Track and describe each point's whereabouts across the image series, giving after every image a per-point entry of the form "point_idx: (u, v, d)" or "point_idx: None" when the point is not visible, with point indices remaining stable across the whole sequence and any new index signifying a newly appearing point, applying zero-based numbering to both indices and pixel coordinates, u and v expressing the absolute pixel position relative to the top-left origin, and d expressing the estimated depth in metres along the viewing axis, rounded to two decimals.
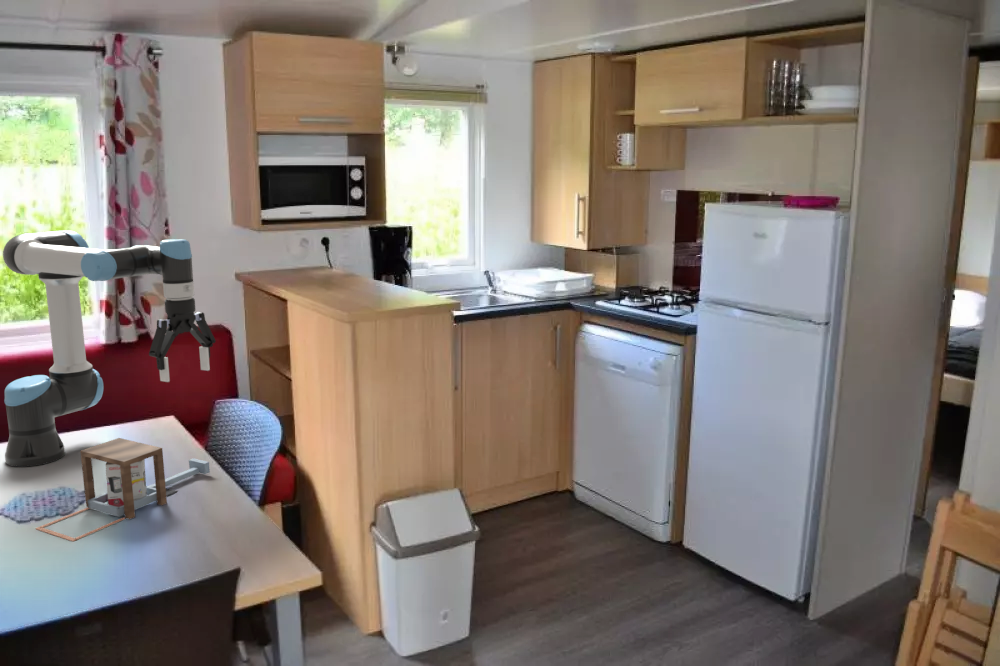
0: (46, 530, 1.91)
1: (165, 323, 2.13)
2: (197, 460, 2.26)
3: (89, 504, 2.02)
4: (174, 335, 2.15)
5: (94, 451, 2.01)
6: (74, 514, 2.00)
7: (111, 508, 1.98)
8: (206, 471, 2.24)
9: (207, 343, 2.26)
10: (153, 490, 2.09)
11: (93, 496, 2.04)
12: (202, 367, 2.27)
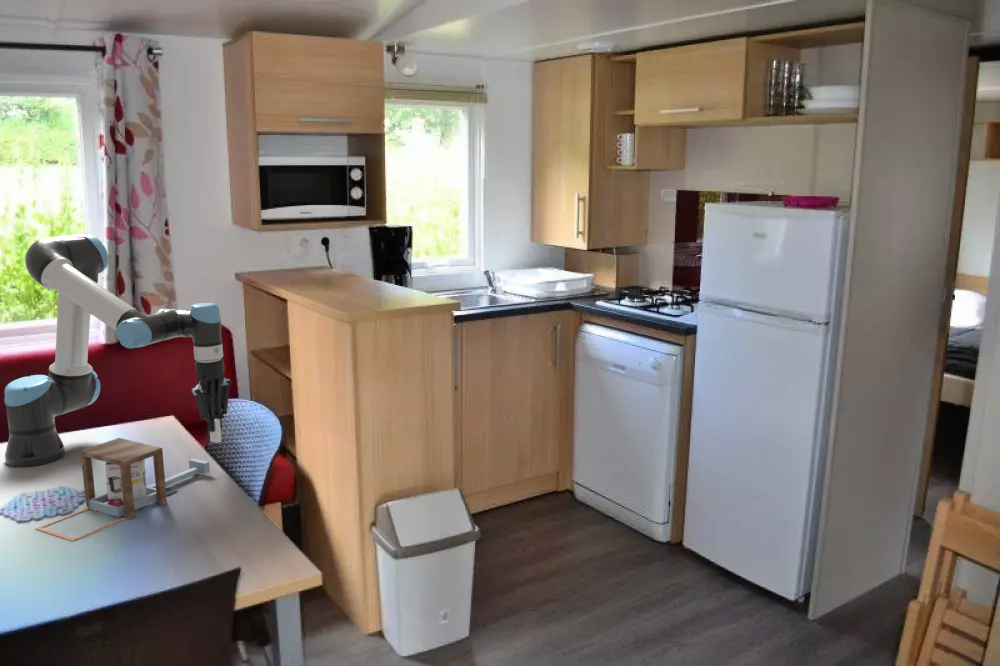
0: (46, 530, 1.91)
1: (199, 392, 2.21)
2: (197, 460, 2.26)
3: (89, 504, 2.02)
4: (212, 397, 2.25)
5: (94, 451, 2.01)
6: (74, 514, 2.00)
7: (111, 508, 1.98)
8: (206, 471, 2.24)
9: (220, 413, 2.28)
10: (153, 490, 2.09)
11: (93, 496, 2.04)
12: None
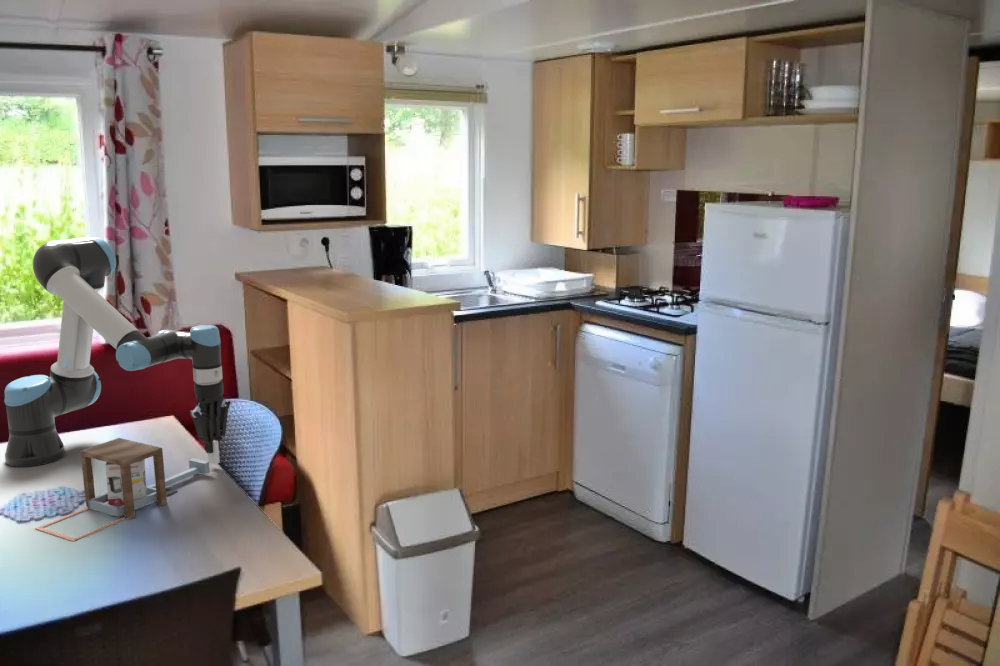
0: (46, 530, 1.91)
1: (198, 414, 2.22)
2: (197, 460, 2.26)
3: (89, 504, 2.02)
4: (210, 419, 2.26)
5: (94, 451, 2.01)
6: (74, 514, 2.00)
7: (111, 508, 1.98)
8: (206, 471, 2.24)
9: (218, 435, 2.29)
10: (153, 490, 2.09)
11: (93, 496, 2.04)
12: None
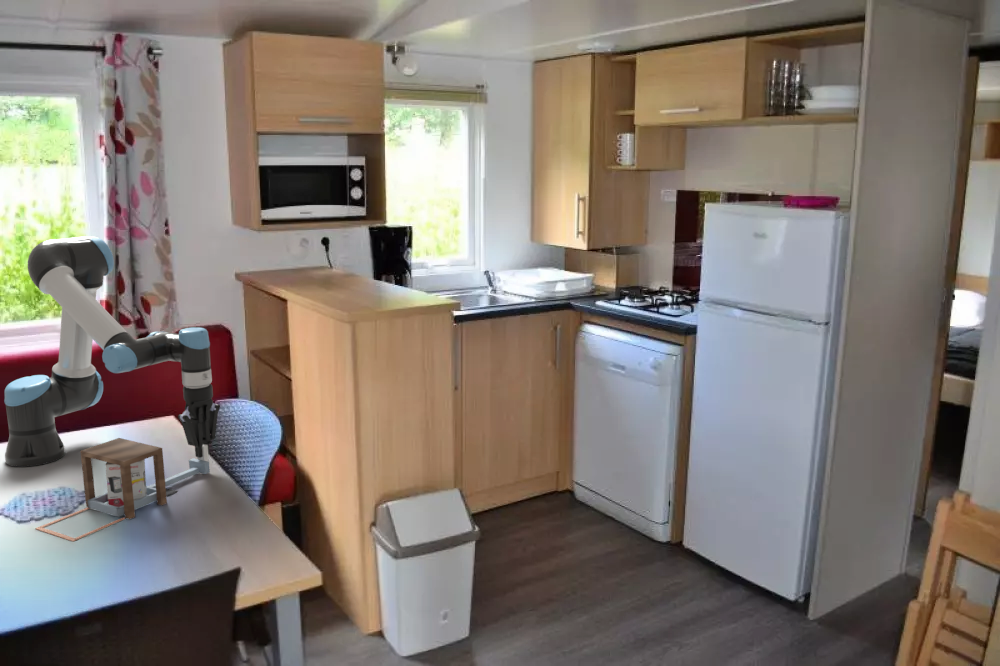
0: (46, 530, 1.91)
1: (187, 418, 2.18)
2: (197, 460, 2.26)
3: (89, 504, 2.02)
4: (200, 422, 2.23)
5: (94, 451, 2.01)
6: (74, 514, 2.00)
7: (111, 508, 1.98)
8: (206, 471, 2.24)
9: (207, 439, 2.26)
10: (153, 490, 2.09)
11: (93, 496, 2.04)
12: None
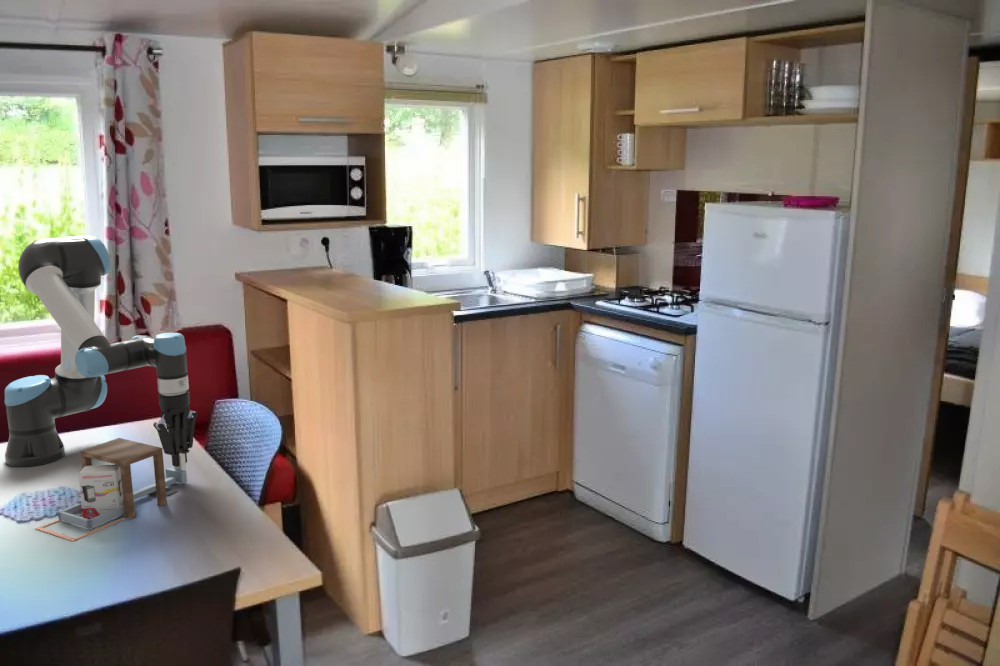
0: (46, 530, 1.91)
1: (162, 426, 2.12)
2: (174, 469, 2.19)
3: (60, 516, 1.95)
4: (176, 431, 2.16)
5: (94, 451, 2.01)
6: None
7: (82, 520, 1.91)
8: (183, 481, 2.17)
9: (185, 448, 2.19)
10: None
11: None
12: None
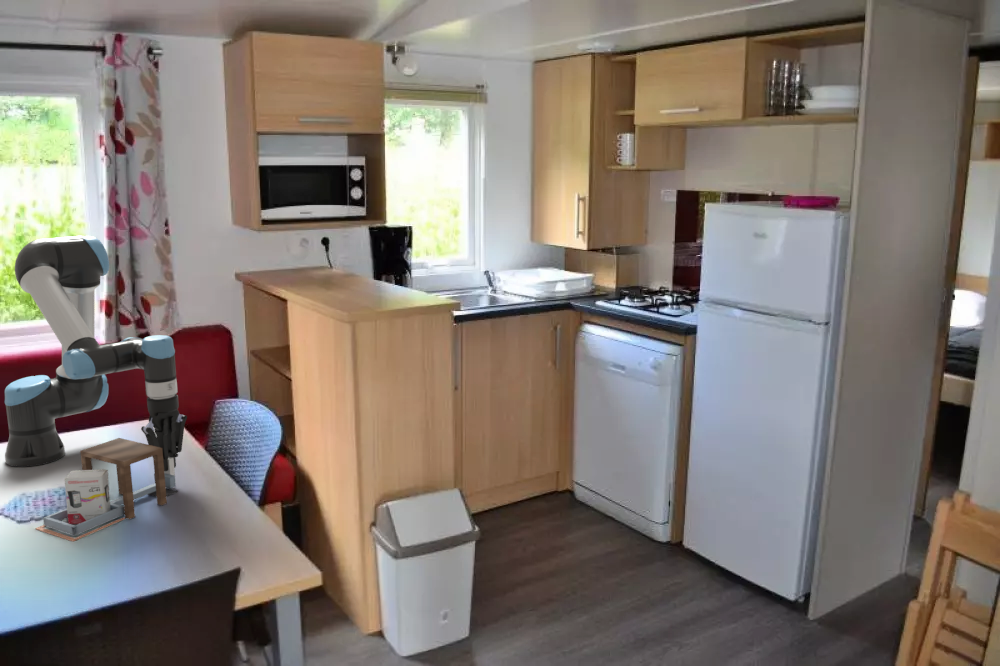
0: (46, 530, 1.91)
1: (150, 430, 2.08)
2: None
3: (45, 522, 1.92)
4: (165, 435, 2.13)
5: (94, 451, 2.01)
6: None
7: (67, 526, 1.88)
8: (172, 485, 2.14)
9: (173, 452, 2.16)
10: (113, 506, 1.99)
11: None
12: None
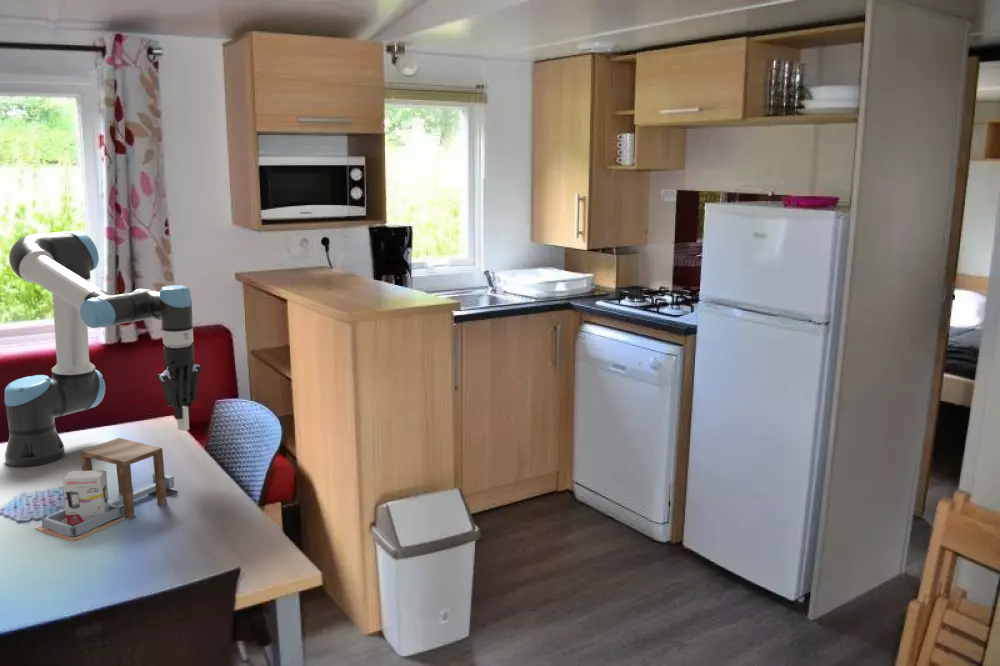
0: (46, 530, 1.91)
1: (166, 378, 2.13)
2: None
3: (43, 522, 1.92)
4: (180, 383, 2.17)
5: (94, 451, 2.01)
6: None
7: (65, 527, 1.88)
8: (170, 486, 2.14)
9: (188, 401, 2.20)
10: (112, 507, 1.99)
11: None
12: None
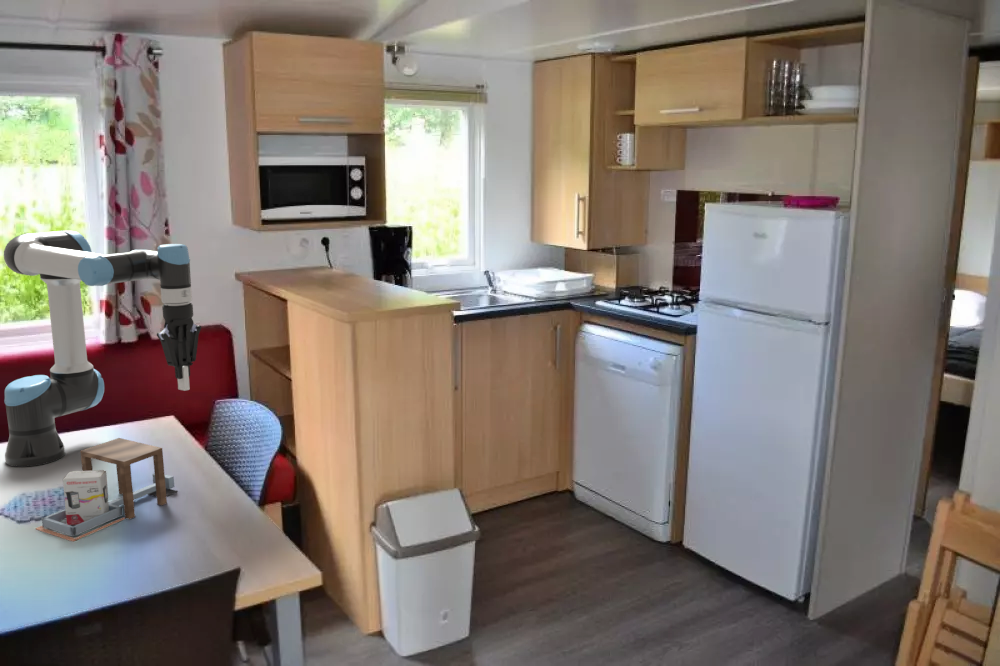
0: (46, 530, 1.91)
1: (165, 336, 2.12)
2: None
3: (43, 522, 1.92)
4: (180, 342, 2.16)
5: (94, 451, 2.01)
6: None
7: (65, 527, 1.88)
8: (170, 486, 2.14)
9: (188, 360, 2.20)
10: (112, 507, 1.99)
11: None
12: None
